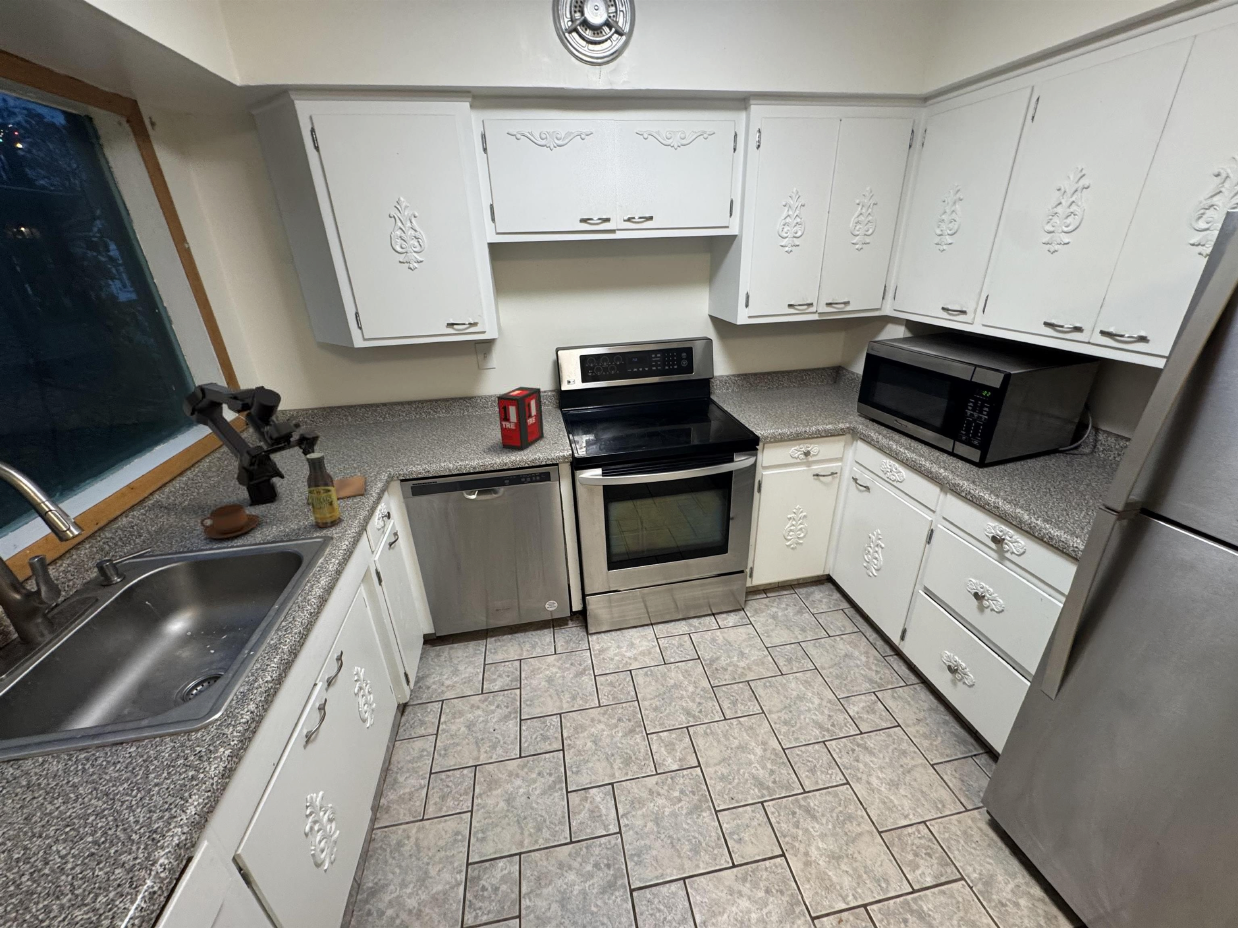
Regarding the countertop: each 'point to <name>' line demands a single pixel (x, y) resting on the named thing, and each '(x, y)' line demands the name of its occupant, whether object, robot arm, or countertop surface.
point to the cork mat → (349, 487)
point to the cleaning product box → (520, 417)
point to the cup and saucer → (229, 521)
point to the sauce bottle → (322, 492)
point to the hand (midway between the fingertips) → (301, 472)
